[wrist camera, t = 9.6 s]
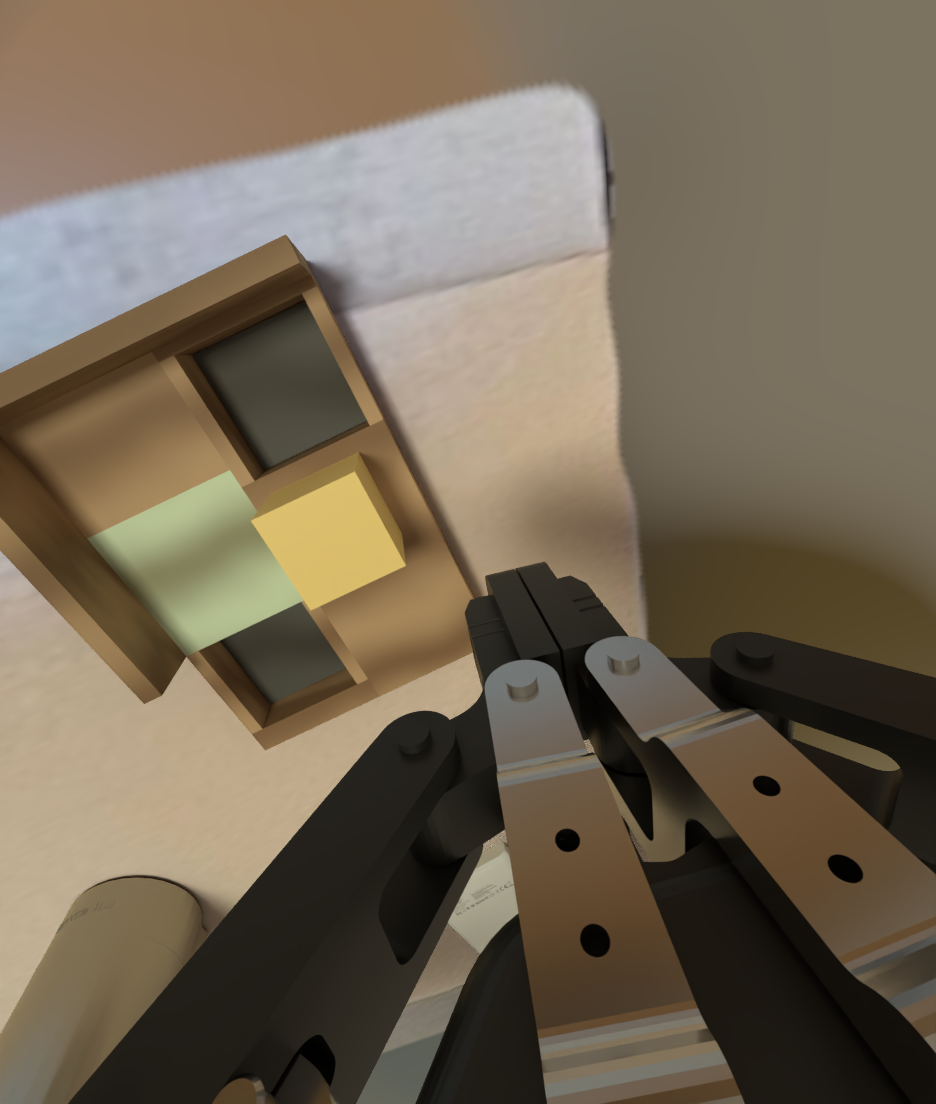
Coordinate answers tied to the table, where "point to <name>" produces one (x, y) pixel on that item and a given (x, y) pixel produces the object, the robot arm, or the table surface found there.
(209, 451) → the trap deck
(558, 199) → the table surface
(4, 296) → the table surface
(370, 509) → the block
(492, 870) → the external hard drive
